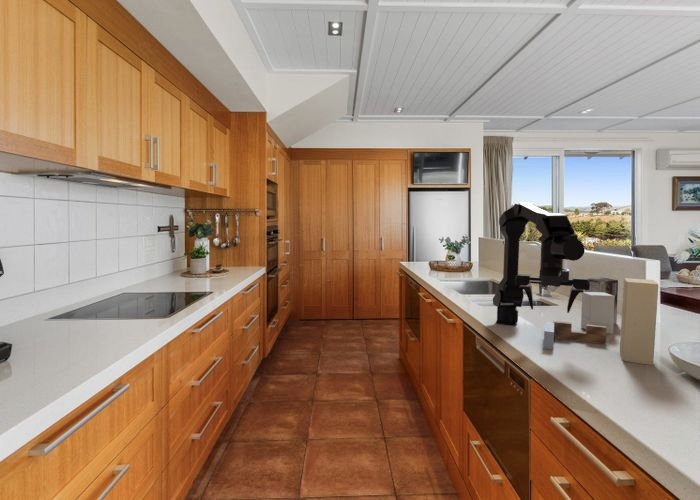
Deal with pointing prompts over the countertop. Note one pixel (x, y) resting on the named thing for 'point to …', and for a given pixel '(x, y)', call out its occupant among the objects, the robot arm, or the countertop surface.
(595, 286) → the coffee box
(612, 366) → the countertop surface
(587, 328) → the walnut block
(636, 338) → the beige tall block
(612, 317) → the supplement box
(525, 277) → the robot arm
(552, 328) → the pale blue pillar
